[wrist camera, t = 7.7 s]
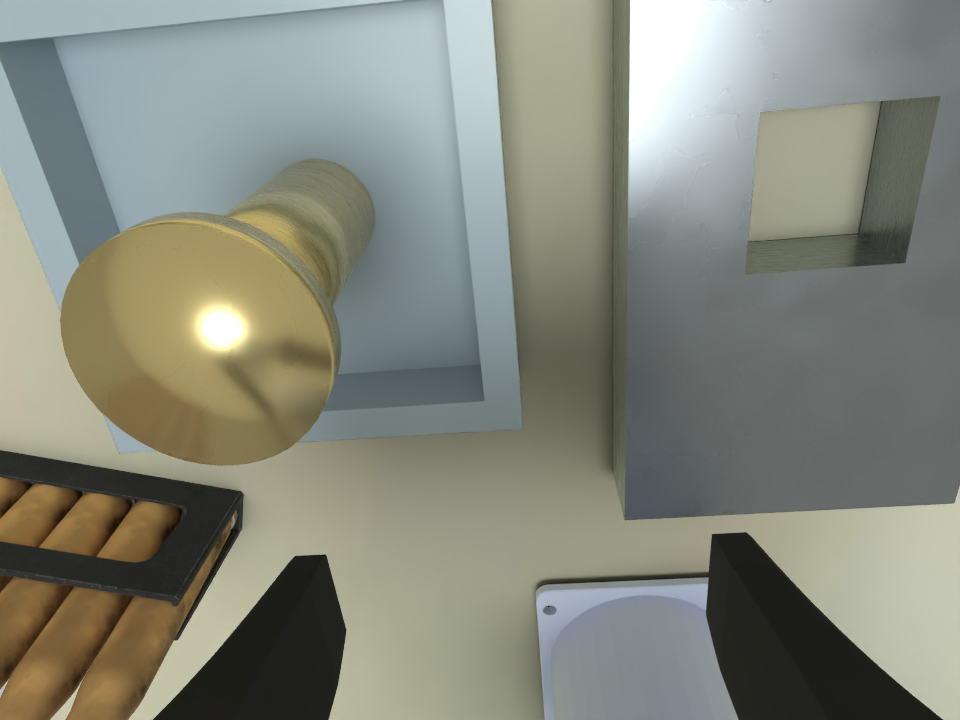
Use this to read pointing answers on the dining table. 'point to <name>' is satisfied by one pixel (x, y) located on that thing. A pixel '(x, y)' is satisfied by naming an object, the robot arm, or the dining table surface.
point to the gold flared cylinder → (221, 317)
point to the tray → (273, 147)
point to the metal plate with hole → (783, 263)
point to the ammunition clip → (99, 580)
